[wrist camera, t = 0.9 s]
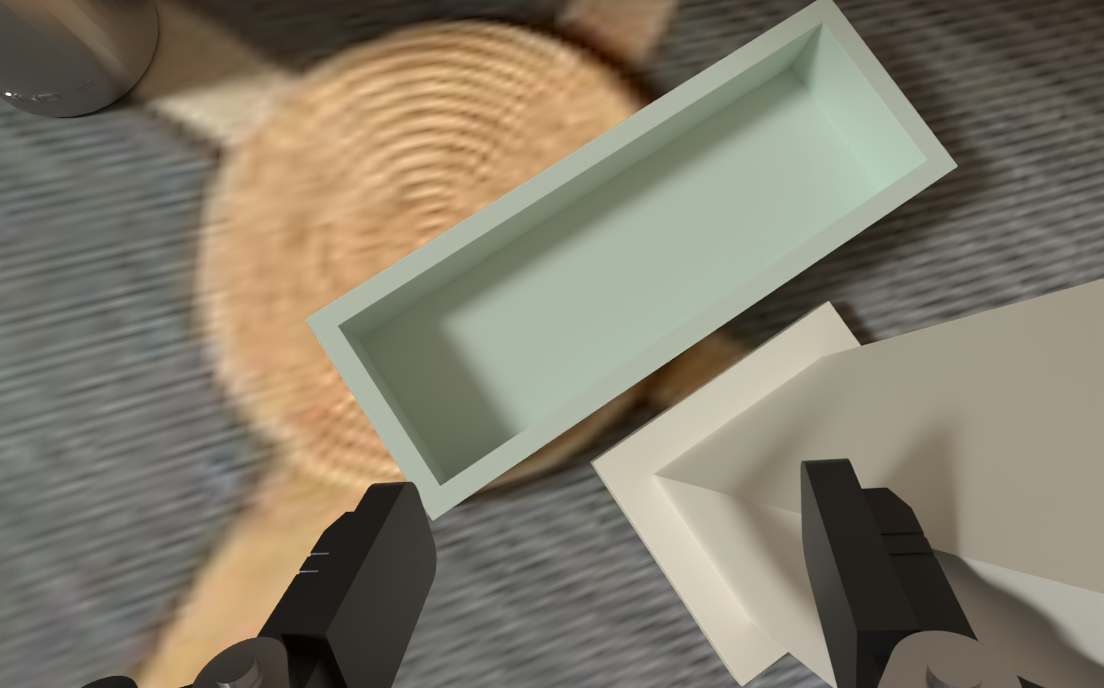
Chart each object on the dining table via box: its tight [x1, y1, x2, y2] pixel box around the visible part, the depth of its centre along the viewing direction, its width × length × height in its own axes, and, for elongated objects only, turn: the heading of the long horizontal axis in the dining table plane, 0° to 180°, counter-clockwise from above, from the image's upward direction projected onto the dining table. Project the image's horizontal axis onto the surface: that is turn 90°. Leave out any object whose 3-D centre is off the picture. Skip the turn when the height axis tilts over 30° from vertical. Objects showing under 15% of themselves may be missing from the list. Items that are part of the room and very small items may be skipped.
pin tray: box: [305, 0, 958, 521], centre depth 33 cm, size 28×10×5 cm, turn 124°
